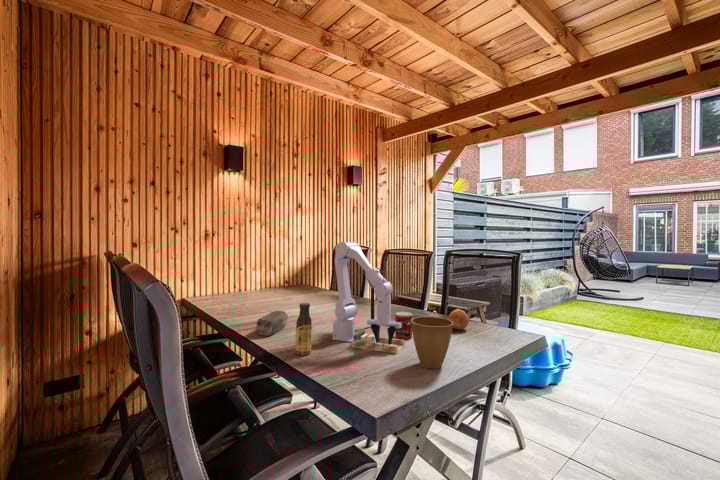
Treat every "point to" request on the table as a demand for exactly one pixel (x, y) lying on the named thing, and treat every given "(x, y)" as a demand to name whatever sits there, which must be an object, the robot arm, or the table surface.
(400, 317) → the canned food
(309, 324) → the sauce bottle
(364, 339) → the cream gift box
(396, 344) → the track
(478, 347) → the table surface
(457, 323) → the onion
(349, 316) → the robot arm
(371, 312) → the solar garden light
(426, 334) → the plant pot
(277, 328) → the stone block
